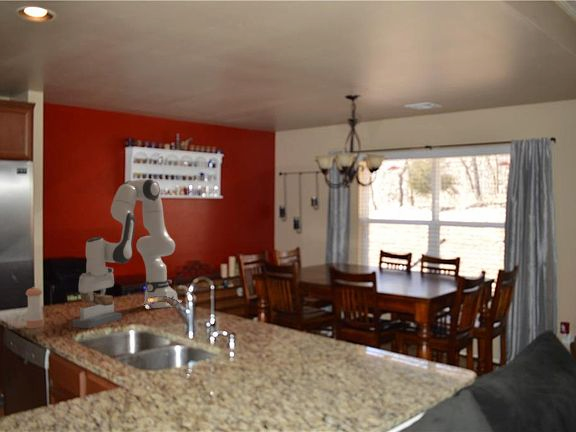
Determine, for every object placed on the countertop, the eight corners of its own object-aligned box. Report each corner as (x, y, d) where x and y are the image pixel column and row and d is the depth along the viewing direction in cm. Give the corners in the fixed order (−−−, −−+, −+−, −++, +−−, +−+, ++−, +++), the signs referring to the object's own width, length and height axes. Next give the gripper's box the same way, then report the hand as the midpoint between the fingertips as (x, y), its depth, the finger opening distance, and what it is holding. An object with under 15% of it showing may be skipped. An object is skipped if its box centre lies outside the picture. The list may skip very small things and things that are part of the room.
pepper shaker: (46, 324, 267) (44, 285, 266) (38, 328, 260) (36, 288, 259) (32, 324, 268) (30, 285, 267) (23, 328, 261) (21, 288, 260)
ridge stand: (106, 317, 281) (105, 299, 281) (121, 318, 277) (121, 300, 277) (72, 327, 262) (72, 308, 261) (88, 328, 257) (88, 309, 257)
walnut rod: (112, 304, 264) (112, 296, 264) (105, 305, 261) (105, 297, 261) (89, 299, 277) (89, 292, 277) (82, 301, 274) (81, 293, 274)
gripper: (84, 274, 258) (85, 303, 258) (115, 268, 276) (116, 295, 277) (74, 273, 260) (75, 302, 261) (106, 267, 279) (107, 295, 279)
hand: (97, 299), depth 269 cm, fingers closed on walnut rod, 4 cm apart
